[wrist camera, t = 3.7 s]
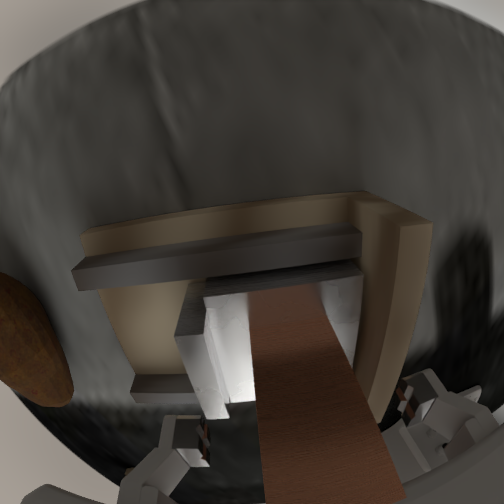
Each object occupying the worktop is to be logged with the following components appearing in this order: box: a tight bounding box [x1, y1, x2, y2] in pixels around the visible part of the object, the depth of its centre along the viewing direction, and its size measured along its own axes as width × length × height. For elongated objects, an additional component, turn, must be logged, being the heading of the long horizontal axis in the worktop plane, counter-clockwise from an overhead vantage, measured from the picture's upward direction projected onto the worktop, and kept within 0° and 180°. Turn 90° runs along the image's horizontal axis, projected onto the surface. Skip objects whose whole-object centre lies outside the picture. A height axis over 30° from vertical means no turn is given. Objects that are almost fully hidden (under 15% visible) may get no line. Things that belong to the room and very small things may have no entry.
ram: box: [174, 259, 407, 504], centre depth 10 cm, size 8×7×12 cm
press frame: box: [71, 191, 433, 423], centre depth 14 cm, size 16×13×6 cm
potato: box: [0, 272, 74, 407], centre depth 13 cm, size 7×12×7 cm, turn 13°
